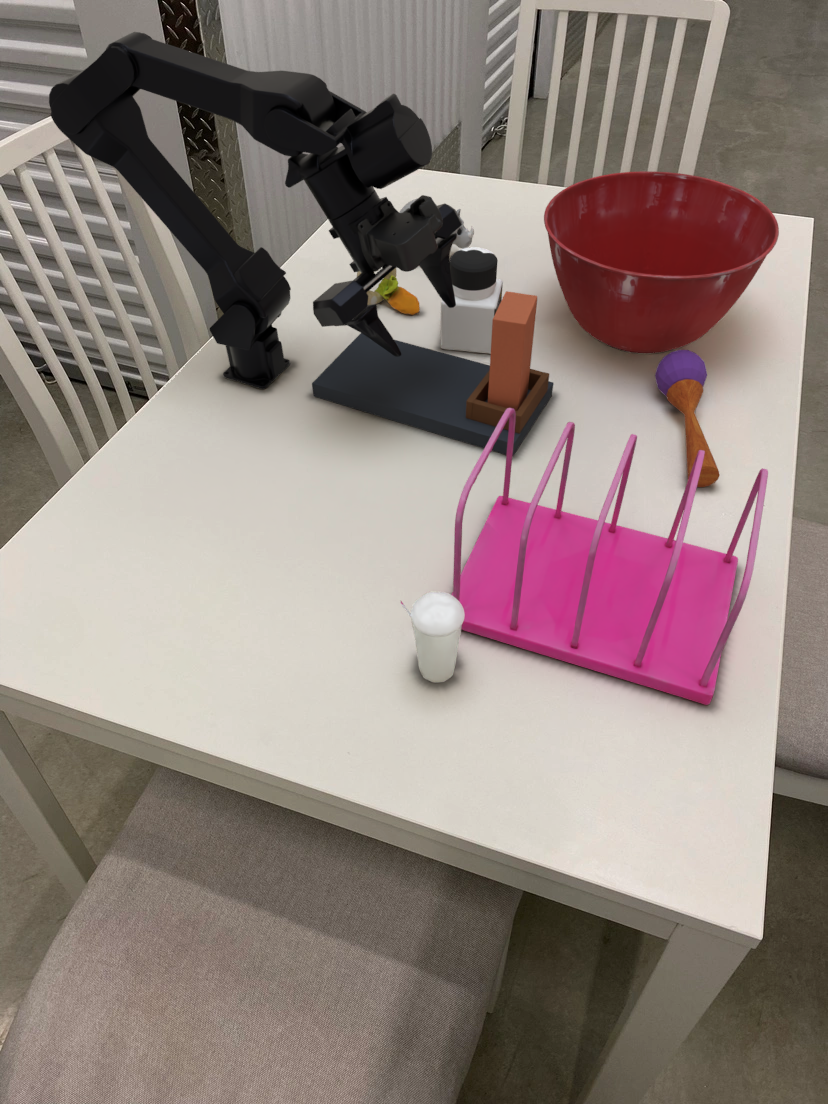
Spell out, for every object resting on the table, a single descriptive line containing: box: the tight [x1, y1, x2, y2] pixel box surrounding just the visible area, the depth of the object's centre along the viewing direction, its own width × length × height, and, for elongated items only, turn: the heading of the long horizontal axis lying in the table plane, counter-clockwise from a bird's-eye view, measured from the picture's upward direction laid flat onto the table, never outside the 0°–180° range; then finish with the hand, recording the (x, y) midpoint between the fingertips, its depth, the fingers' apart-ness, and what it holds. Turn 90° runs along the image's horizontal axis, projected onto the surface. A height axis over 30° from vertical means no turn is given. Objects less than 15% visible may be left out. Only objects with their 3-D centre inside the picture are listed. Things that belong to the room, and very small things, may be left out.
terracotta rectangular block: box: [488, 290, 538, 411], centre depth 93 cm, size 4×6×13 cm, turn 162°
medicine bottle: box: [440, 246, 504, 355], centre depth 107 cm, size 7×7×12 cm
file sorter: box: [450, 408, 769, 706], centre depth 74 cm, size 17×25×16 cm
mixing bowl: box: [543, 170, 780, 355], centre depth 107 cm, size 28×28×16 cm
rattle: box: [356, 268, 421, 316], centre depth 113 cm, size 8×8×12 cm
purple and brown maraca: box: [654, 349, 721, 488], centre depth 95 cm, size 6×6×20 cm
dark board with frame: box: [311, 332, 554, 458], centre depth 101 cm, size 27×13×4 cm, turn 63°
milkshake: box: [399, 590, 465, 684], centre depth 71 cm, size 4×5×10 cm
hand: (426, 330), depth 93 cm, fingers open, 9 cm apart
